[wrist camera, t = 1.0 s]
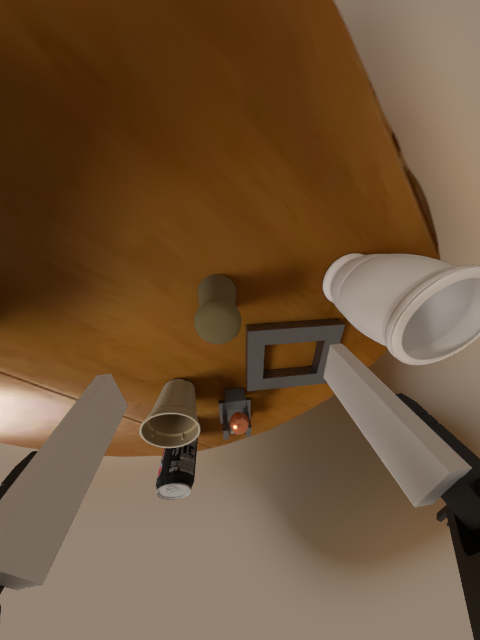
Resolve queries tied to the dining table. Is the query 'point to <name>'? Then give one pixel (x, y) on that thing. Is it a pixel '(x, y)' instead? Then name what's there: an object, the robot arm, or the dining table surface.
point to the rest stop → (235, 399)
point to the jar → (408, 303)
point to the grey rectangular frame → (289, 332)
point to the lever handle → (238, 423)
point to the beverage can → (177, 471)
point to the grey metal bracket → (227, 414)
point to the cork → (217, 310)
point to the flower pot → (172, 417)
